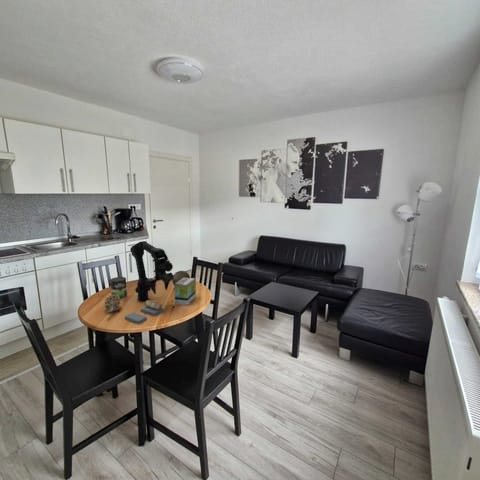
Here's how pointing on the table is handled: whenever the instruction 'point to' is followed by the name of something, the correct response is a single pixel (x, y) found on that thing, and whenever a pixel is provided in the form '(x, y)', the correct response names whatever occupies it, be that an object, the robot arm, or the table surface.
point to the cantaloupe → (180, 276)
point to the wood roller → (153, 305)
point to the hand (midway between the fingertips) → (160, 291)
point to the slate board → (139, 318)
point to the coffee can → (119, 287)
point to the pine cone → (112, 303)
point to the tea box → (185, 291)
